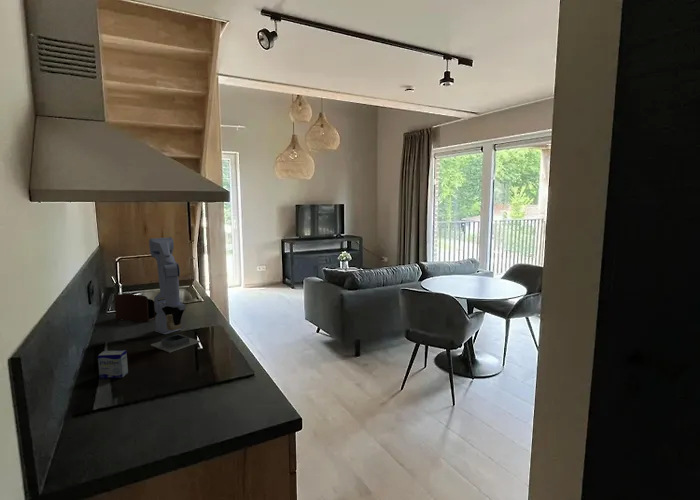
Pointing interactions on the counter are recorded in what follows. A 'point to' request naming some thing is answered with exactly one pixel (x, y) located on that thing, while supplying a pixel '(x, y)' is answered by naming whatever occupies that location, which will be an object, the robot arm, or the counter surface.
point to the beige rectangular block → (172, 323)
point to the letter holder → (134, 307)
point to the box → (112, 364)
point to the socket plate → (174, 343)
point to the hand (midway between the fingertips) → (174, 323)
